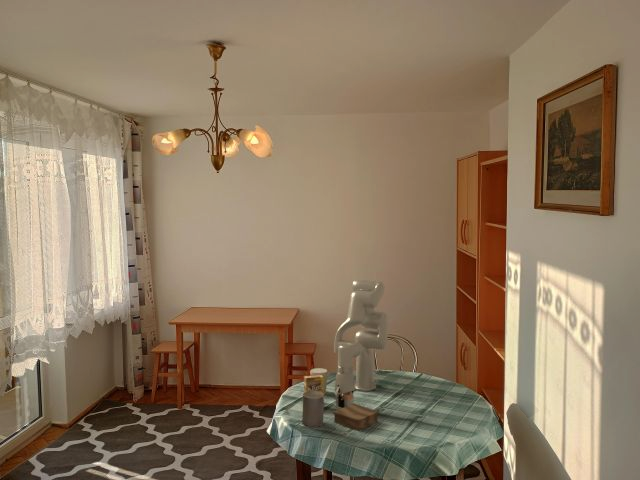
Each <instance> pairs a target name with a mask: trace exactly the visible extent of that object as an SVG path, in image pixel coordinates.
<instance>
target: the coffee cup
mask: <svg viewBox="0 0 640 480" xmlns="http://www.w3.org/2000/svg"><path fill="white" fill-rule="evenodd" d="M309 373H310V375H309V376H311V375H322V376H323V394H324V395H325V394H326V393H327V386H328V385H327V383H328V373H329V372H328V370H327V369H326V368H322V367H320V368H319V367H318V368H312V369H311V370H310V371H309Z"/></svg>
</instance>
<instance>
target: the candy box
mask: <svg viewBox="0 0 640 480" xmlns="http://www.w3.org/2000/svg"><path fill="white" fill-rule="evenodd" d="M308 391H318V392H321V393H323V376H322V375H311V376H310V375H303V393H305V392H308Z"/></svg>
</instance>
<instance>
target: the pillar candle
mask: <svg viewBox="0 0 640 480" xmlns="http://www.w3.org/2000/svg"><path fill="white" fill-rule="evenodd" d="M324 401H325V394H323V393H321V392H318V391H308V392H305V393H304V392H303V393H302V415H301V417H302V419H301V420H302V421H301V423H302V425H303V426H304V427H307V428H319V427H321V426H323V425H324V414H325V413H324V409H325V406H324V405H325V402H324Z"/></svg>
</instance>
